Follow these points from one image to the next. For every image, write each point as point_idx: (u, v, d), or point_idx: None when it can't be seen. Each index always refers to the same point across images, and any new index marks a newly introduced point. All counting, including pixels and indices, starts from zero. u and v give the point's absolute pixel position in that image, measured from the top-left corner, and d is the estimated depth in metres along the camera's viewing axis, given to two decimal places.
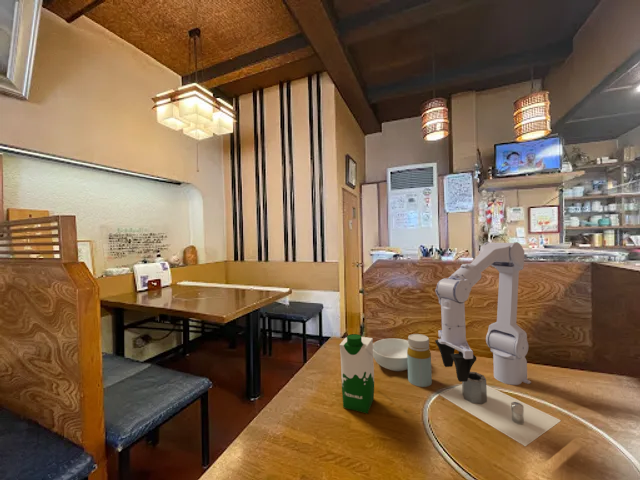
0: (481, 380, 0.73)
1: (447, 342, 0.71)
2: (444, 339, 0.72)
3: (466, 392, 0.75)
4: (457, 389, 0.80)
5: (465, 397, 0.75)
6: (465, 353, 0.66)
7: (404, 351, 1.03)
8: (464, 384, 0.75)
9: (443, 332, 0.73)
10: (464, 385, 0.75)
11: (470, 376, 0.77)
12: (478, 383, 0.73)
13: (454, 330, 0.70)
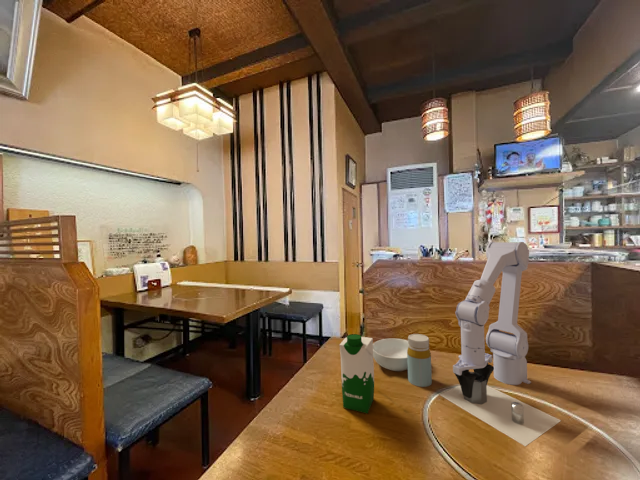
0: (481, 380, 0.73)
1: (461, 358, 0.77)
2: None
3: None
4: (457, 389, 0.80)
5: (465, 397, 0.75)
6: (453, 367, 0.73)
7: (404, 351, 1.03)
8: None
9: None
10: None
11: None
12: (478, 383, 0.73)
13: (463, 349, 0.75)
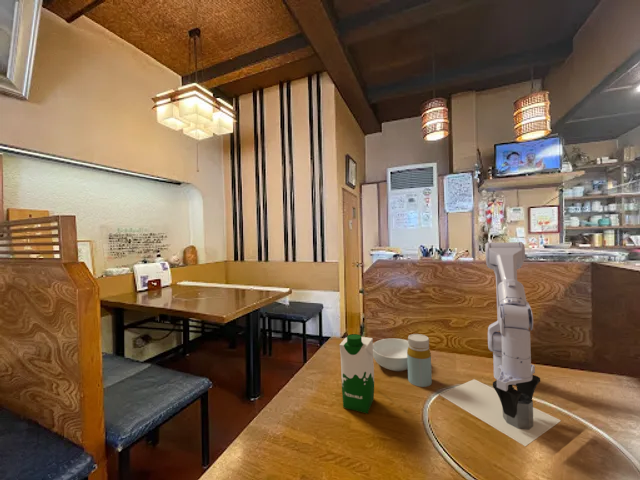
0: (527, 401, 0.64)
1: (501, 369, 0.67)
2: None
3: None
4: (457, 389, 0.80)
5: (508, 421, 0.65)
6: (497, 381, 0.63)
7: (404, 351, 1.03)
8: None
9: None
10: None
11: None
12: (525, 405, 0.63)
13: (506, 359, 0.65)
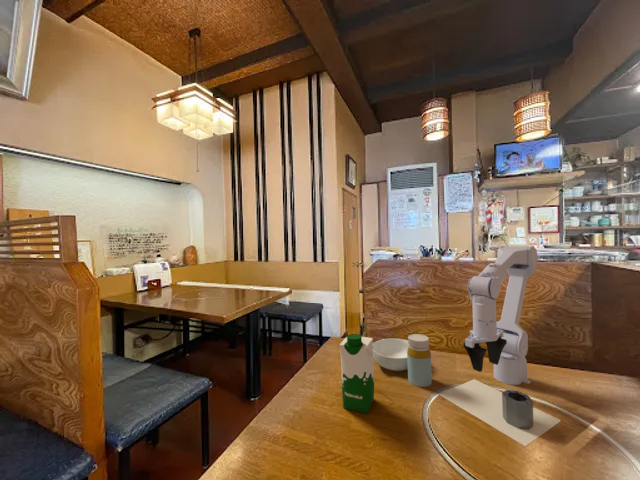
0: (527, 401, 0.64)
1: (472, 332, 0.78)
2: None
3: (510, 415, 0.65)
4: (457, 389, 0.80)
5: (508, 421, 0.65)
6: (465, 340, 0.74)
7: (404, 351, 1.03)
8: (507, 406, 0.65)
9: None
10: (507, 407, 0.65)
11: (511, 396, 0.68)
12: (525, 405, 0.63)
13: (475, 323, 0.76)
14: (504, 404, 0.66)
